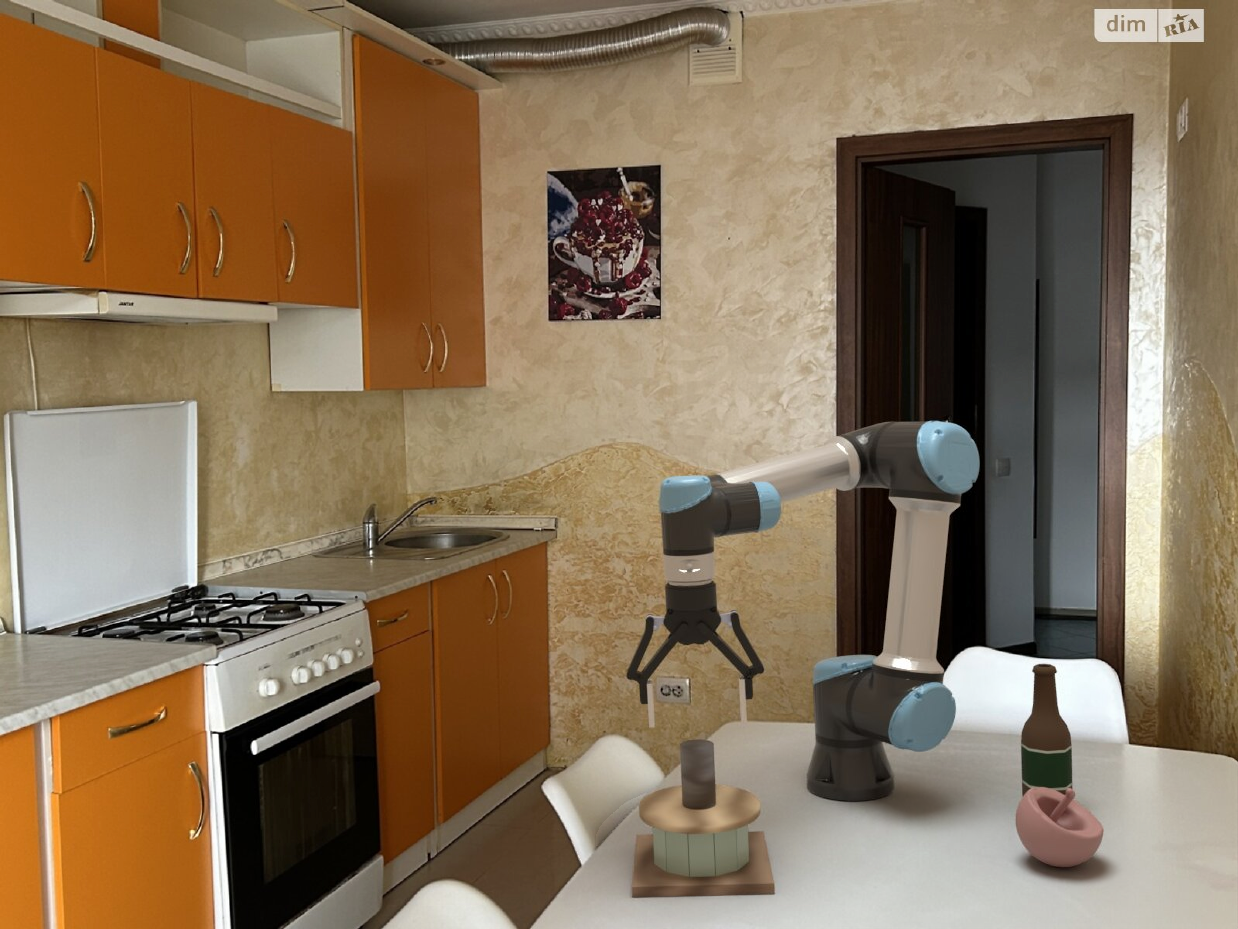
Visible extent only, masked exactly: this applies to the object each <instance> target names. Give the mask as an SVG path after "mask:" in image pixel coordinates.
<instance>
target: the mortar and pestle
mask: <svg viewBox="0 0 1238 929" xmlns="http://www.w3.org/2000/svg"><path fill="white" fill-rule="evenodd" d="M1075 797H1076V791H1075V790H1074V789H1073V790H1072V789H1071V788H1067V790H1066V795H1063V794H1062V793H1060V792H1058V791H1055V790H1053V789H1050V788H1045V787H1038V788H1035V787H1033V788H1031V789H1029V790H1028V791H1027V792H1026V794H1025V795H1024V796H1023V797H1021V799H1020V801H1019V803H1018V805H1017V807H1016V808H1017V809H1016V811H1015V812H1016V813H1015V828H1016V831H1017V832H1016V833H1017V836H1018V838H1019V840H1020V842H1021V844H1022V845H1023V847H1024V848H1025V850H1027V852H1028V853H1030V855H1031V856H1033V857H1034V858H1036V859H1037V860H1038V861H1039V862H1042V863H1044V864H1047V865H1048V866H1052V867H1056V868H1057V867H1058V868H1071V867H1075V866H1079V865H1081V864H1082V863H1085V862H1086V861H1088V860H1089V859H1090V858H1092V857H1093V856H1094V855H1095V854H1096V853H1097V851H1098V849H1099V847H1100V846H1101V844H1102V840H1103V836H1104V832H1105V830H1104V827H1103V825H1102V823H1101V822H1100V821H1099V819H1098V818H1097V817H1095V815H1094V814H1092V812H1090V811H1089V810H1088V809H1087V808H1085V807H1084V806H1083V805H1081V804H1080V803H1078V802H1077V801H1076V800H1075Z"/></svg>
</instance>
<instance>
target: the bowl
mask: <svg viewBox="0 0 1238 929" xmlns="http://www.w3.org/2000/svg"><path fill="white" fill-rule="evenodd" d="M748 832H749V824H748V825H746V826H744V827H741V828H738V829H735V830H731V831H726V832H719V833H711V834H682V833H674V832H668V831H663V830H660V829H656V828H654V827H652V834H653V845H654V864H655V865H657V866H658V867H660V868H661V869H663V870H664V871H666V872H668V873H673V874H678V875H683V876H687V877H689V876H690V877H706V876H719V875H722V874H726V873H730V872H734V871H737V870H739V869H740V868H741V867H743V866H744V865H745V864H747V863H748V862H749V842H748Z"/></svg>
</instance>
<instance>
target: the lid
mask: <svg viewBox="0 0 1238 929" xmlns="http://www.w3.org/2000/svg"><path fill="white" fill-rule="evenodd" d="M679 752H680V754H679V755H680V757H679V758H680V778H681V780H680V781H681V785H675V786H668V787H667V788H662V789H658V790H655V791H653V792H651V793H649V794H646V795H645V796H644V797H642V799H641V800H640V801H639V803H638V814H639V815H638V816H639V818H640V820H641V821H642V822H644V824H646V825H648V826H649V827H652V828H653V827H654V828H656V829H660V830H663V831H668V832H674V833H682V834H711V833H719V832H726V831H731V830H735V829H738V828H741V827H744V826H746V825H748V826H749V825H750V824H752V823H754V822H756V820H757V819H758V818H759V817H760V815H761V801H760V799H759V798H758V797H757V795H755V794H754V793H752V792H750V791H748V790H746V789H743V788H740V787H735V786H730V785H724V784H716V770H715V769H716V768H715V744H714V742H713V741H711V740H708V739H700V738H698V739H696V738H695V739H689V740H688V739H687V740H684V741H681V743H680V744H679Z"/></svg>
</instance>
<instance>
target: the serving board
mask: <svg viewBox="0 0 1238 929" xmlns="http://www.w3.org/2000/svg"><path fill="white" fill-rule="evenodd" d="M765 837H766V836H765V832H764V830H762V831H760V830H759V831H756V830H755V831H748V842H749V862H748V863H747V864H745V865H744V866H743V867H741V868H740V869H739V870H737V871H734V872H730V873H726V874H722V875H719V876H706V877H690V876H689V877H687V876H683V875H678V874H673V873H668V872H666V871H664V870H663V869H661V868H660V867H658V866H657V865H655V864H654V845H653V833H652V834H651V833H649V834H648V833H647V834H636V836H635V846H634V847H635V848H634V849H635V850H634V861H633V871H632V872H633V874H632V884H631V889H632V898H655V897H656V898H657V897H658V898H662V897H696V896H697V897H699V896H704V897H705V896H740V895H743V896H745V895H775V894H776V891H775V890H776V889H775V888H776V887H775V880H774V875H773V871H772V870H773V869H772V866H771V861H770V857H769V850H768V846H767V840H766V838H765Z"/></svg>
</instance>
